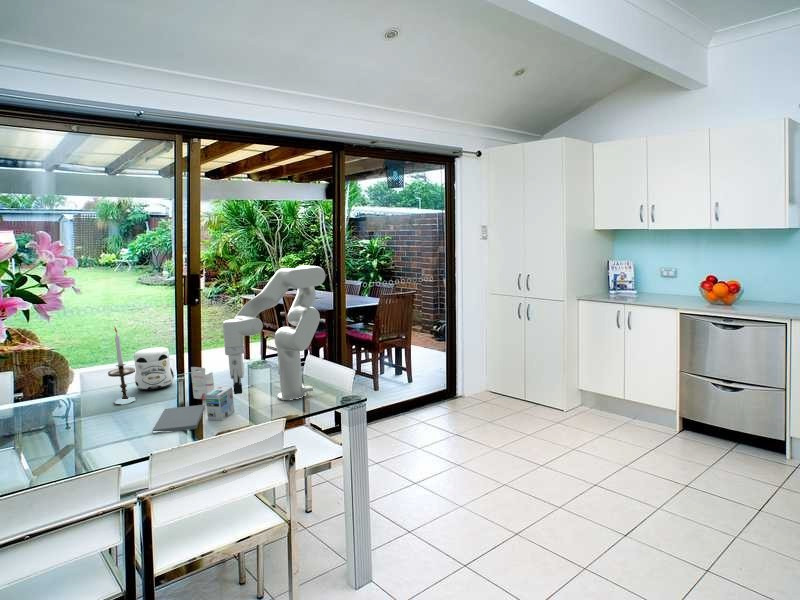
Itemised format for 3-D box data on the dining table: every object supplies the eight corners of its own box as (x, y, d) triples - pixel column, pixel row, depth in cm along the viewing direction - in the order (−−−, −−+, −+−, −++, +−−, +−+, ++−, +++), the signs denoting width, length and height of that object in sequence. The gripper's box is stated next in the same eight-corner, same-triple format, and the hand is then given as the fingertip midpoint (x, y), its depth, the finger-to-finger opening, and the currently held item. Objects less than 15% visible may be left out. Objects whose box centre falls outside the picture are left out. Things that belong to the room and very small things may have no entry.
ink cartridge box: (215, 396, 257) (212, 365, 254) (208, 400, 252) (205, 368, 250) (200, 394, 260) (197, 364, 257) (193, 398, 255) (189, 367, 253)
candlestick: (121, 407, 248) (111, 329, 242) (106, 403, 253) (96, 327, 247) (143, 399, 257) (134, 324, 251) (128, 396, 262) (119, 322, 257)
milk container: (151, 394, 263) (146, 357, 260) (128, 390, 272) (123, 353, 269) (182, 384, 278) (178, 348, 275) (159, 380, 287) (155, 345, 284)
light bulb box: (222, 420, 226) (219, 395, 224) (207, 420, 227) (204, 394, 226) (235, 411, 236) (232, 386, 235) (220, 410, 238) (218, 386, 236)
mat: (204, 407, 242) (204, 404, 242) (196, 428, 219) (196, 425, 218) (165, 412, 239) (164, 408, 239) (152, 433, 216) (152, 430, 215)
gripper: (243, 353, 222) (246, 398, 225) (245, 345, 237) (248, 387, 240) (223, 355, 221) (227, 400, 224) (226, 346, 235) (230, 388, 238)
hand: (238, 393), depth 232 cm, fingers closed
